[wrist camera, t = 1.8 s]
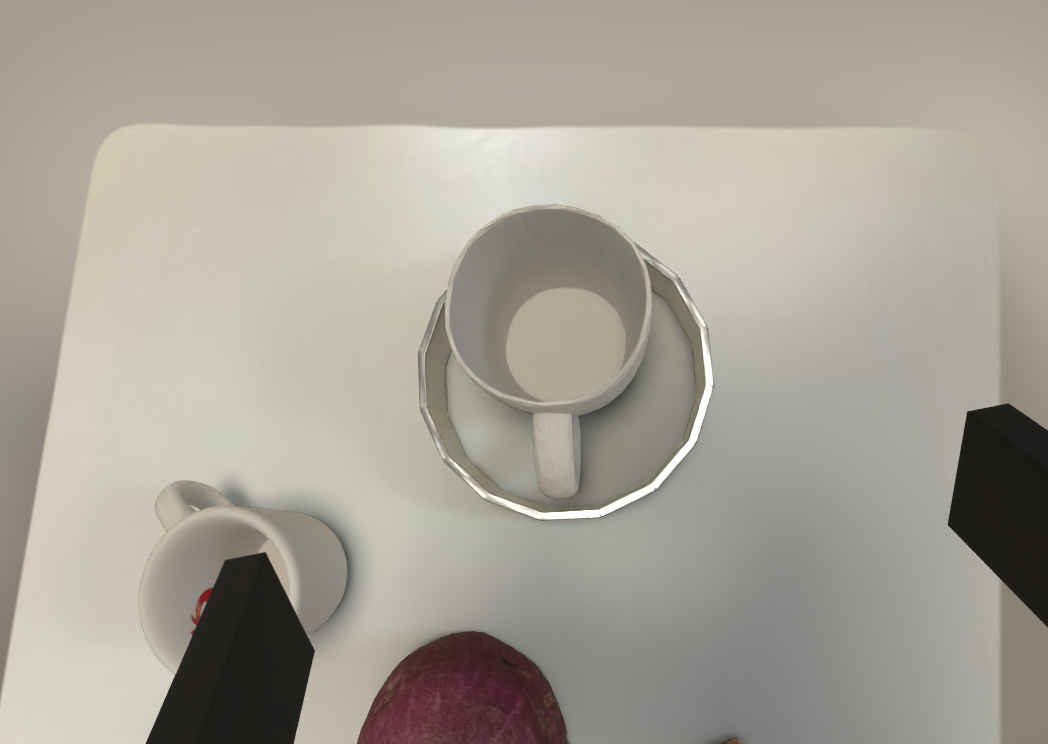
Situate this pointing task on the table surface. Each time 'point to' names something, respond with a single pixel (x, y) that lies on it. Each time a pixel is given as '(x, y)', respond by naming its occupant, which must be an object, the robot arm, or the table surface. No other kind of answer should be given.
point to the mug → (550, 323)
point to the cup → (225, 533)
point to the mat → (733, 741)
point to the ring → (451, 451)
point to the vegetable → (465, 697)
